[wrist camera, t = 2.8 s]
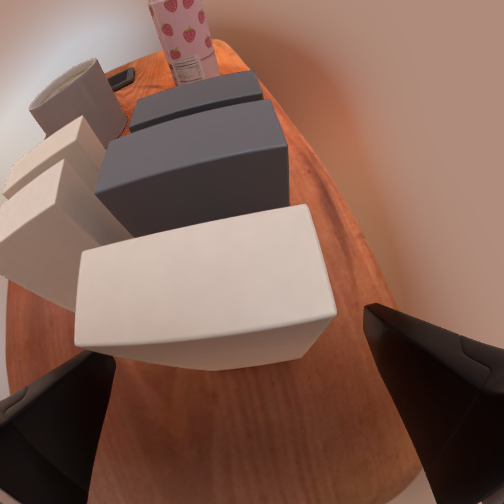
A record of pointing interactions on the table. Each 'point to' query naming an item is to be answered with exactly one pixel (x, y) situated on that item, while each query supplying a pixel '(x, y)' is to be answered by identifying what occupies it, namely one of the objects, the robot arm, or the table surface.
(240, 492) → the table surface
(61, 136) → the white books
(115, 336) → the white book
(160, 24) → the beverage can
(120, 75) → the cell phone
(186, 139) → the grey books
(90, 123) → the coffee mug
